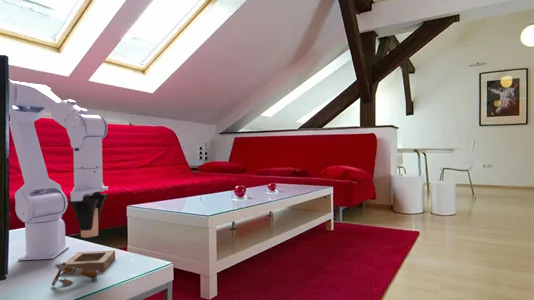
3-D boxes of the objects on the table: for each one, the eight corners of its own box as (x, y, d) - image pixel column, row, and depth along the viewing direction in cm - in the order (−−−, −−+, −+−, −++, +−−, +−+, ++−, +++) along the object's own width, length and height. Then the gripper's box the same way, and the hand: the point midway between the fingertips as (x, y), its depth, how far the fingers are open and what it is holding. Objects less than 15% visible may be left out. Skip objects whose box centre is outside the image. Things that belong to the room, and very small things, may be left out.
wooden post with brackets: (47, 282, 68) (57, 259, 68) (89, 290, 71) (98, 269, 72) (46, 285, 66) (56, 262, 67) (89, 294, 70) (99, 272, 70)
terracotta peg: (84, 233, 80) (83, 207, 80) (100, 233, 80) (99, 207, 80) (78, 237, 77) (77, 210, 76) (95, 237, 77) (94, 210, 77)
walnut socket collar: (78, 260, 82) (77, 252, 82) (115, 258, 83) (115, 250, 83) (62, 273, 74) (62, 264, 74) (103, 271, 75) (103, 262, 75)
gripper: (95, 170, 72) (97, 235, 72) (116, 165, 86) (117, 219, 86) (59, 170, 71) (60, 237, 71) (86, 166, 85) (87, 221, 85)
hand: (89, 227), depth 78 cm, fingers closed on terracotta peg, 3 cm apart
